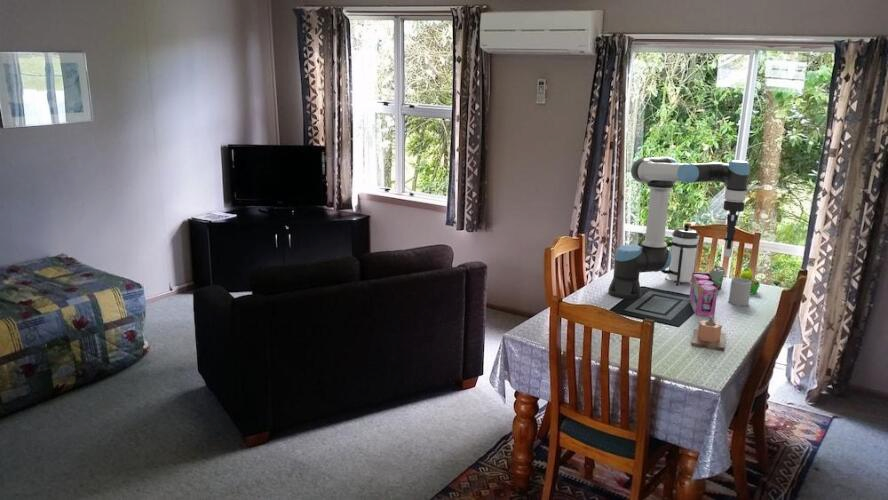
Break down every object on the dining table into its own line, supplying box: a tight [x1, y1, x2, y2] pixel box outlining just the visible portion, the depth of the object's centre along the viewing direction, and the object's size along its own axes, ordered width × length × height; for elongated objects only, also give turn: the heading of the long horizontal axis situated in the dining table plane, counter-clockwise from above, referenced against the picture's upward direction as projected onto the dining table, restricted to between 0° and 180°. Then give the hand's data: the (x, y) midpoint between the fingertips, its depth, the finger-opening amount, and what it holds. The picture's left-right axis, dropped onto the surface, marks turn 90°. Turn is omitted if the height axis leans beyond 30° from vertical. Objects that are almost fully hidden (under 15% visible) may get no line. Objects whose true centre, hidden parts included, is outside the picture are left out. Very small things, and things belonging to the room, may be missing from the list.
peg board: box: [690, 316, 726, 352], centre depth 265 cm, size 12×16×10 cm
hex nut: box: [697, 319, 723, 342], centre depth 265 cm, size 7×8×6 cm
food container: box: [709, 265, 726, 291], centre depth 330 cm, size 12×6×10 cm, turn 148°
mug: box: [728, 277, 751, 307], centre depth 311 cm, size 12×8×11 cm
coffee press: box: [660, 223, 701, 287], centre depth 336 cm, size 17×16×30 cm
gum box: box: [688, 271, 719, 318], centre depth 301 cm, size 24×8×14 cm, turn 168°
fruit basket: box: [740, 267, 761, 295], centre depth 327 cm, size 11×9×11 cm
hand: (727, 252), depth 271 cm, fingers open, 13 cm apart
